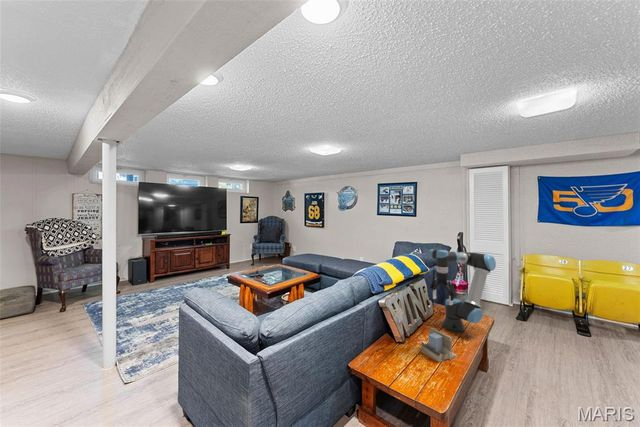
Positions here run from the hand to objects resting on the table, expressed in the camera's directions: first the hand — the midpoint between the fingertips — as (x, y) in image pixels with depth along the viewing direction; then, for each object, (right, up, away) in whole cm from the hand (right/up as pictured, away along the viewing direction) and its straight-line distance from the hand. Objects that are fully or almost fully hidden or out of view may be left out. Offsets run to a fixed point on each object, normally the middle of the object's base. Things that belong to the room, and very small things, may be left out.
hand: (442, 301), depth 183 cm
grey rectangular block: (-11, -27, -13) cm, 32 cm away
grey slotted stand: (-8, -31, -11) cm, 34 cm away
